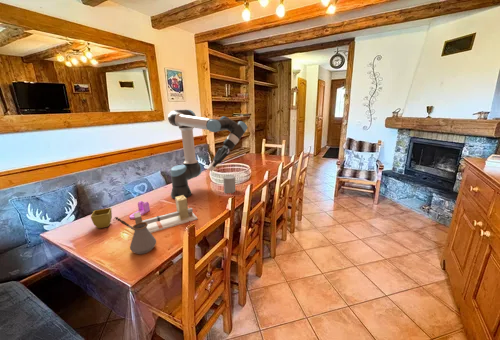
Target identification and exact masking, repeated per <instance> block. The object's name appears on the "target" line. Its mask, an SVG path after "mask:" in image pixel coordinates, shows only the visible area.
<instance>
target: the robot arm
mask: <svg viewBox="0 0 500 340" xmlns="http://www.w3.org/2000/svg"><path fill="white" fill-rule="evenodd" d="M167 121H168V122H169V124H170V125H172V126H173V127H178V129H179V130H180V131H181V139H182V147H183V155H184V157H183V158H184V161H183V162H182V164H178V165H174V166H172V167H171V168H170V179H171V186H172V188H171V193H170V197H171V198H172V199H174V200H175V197H177V196H181V195H184V196H185V197H186V198H190V197H191V195H192V190H191V188H190V186H189V180H191V179H194V178H197V177H199V176H200V175H201V174H202V170H203V167H202V165H201V163H199V161H198V160H197V158H196V150H195V149H196V147H195V140H194V138H195V137H194V131H193V130H194V129H199V130H200V129H201V130H206V131H209V132H211V133H218V132H222V131H228V132H230V133H229V134H228V136H226V139H224V141H223V145H222V147H219V148H218V149H217V151H216V153H215V155H214V156H213V158H212V160H213V161H212V163H210V165H209V166H208V168H207V170H209V171H210V172H211V173H212V172H213V170H214V169H215V168H216V167H217V166H218V164H221V163H222V162H223V161H224V160H225V158H226V157H227V156H229V155H230V153H231V152H230V151H233V149H234V148H235V147H236V145H237V144H238V143H239V141H240V139H241V138H242V137H243V135H244V134H245V133H246V132H247V130H248V125H247V124H246V123H245V122H244V121H242V120H239V121H237V122H236V121H235V120H233V119H231V118H229V117H227V116H224V115H223V116H220V118H217V119H215V118H210V117H209V118H208V117H201V116H196V114H195V112H194V111H192V110H191V109H174V110H171V111H170V112H169V113H168V115H167Z"/></svg>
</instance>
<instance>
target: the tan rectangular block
mask: <svg viewBox="0 0 500 340" xmlns="http://www.w3.org/2000/svg"><path fill="white" fill-rule="evenodd" d="M187 198H188V197H187ZM187 198H186V197H185V196H184V195H181V196H177V197H175V199H174V200H175V206H176V208H175V209H176V212H177V211H178V212H179V216H178V217H179V218H180V220H181V219H185V218H188V217H189V214H188V208H189V206H188V199H187Z"/></svg>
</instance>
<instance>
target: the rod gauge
mask: <svg viewBox="0 0 500 340" xmlns="http://www.w3.org/2000/svg"><path fill="white" fill-rule="evenodd" d="M133 213H134V217H135V219H134V222H135V224H137V223H141V222H146V223H147V224H148V225H147V229H148V230H149V231H150V233H151V234H153V233H155V232H159V231H162V230H166V229H169V228H172V227H175V226H179V225H182V224H186V223H189V221H190V222H192V221H196V220H198V217H197V215H196V214H195V213H194V209H193V208H192V207H188V214H189V217H188V218H185V219H181V220H180V218H179V217H178V216H179V212H178V211H177V210H176V211H174V212H170V213H166V214H163V215H157V216H155V217H150V218H148V219H147V218H146V219H144V220H143V218H142V216H141V214H140V212H138V213H135V212H133Z"/></svg>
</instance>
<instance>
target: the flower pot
mask: <svg viewBox="0 0 500 340" xmlns="http://www.w3.org/2000/svg"><path fill="white" fill-rule="evenodd" d="M112 217H113V213H112V207H108V208H102V209H96V210H93V212H92V213H91V215H90V219H91V221H92V223H93V225H94V226H95V227H96V228H97V229H104V228H107V227H109V226H110V224H111V222H112Z"/></svg>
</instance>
